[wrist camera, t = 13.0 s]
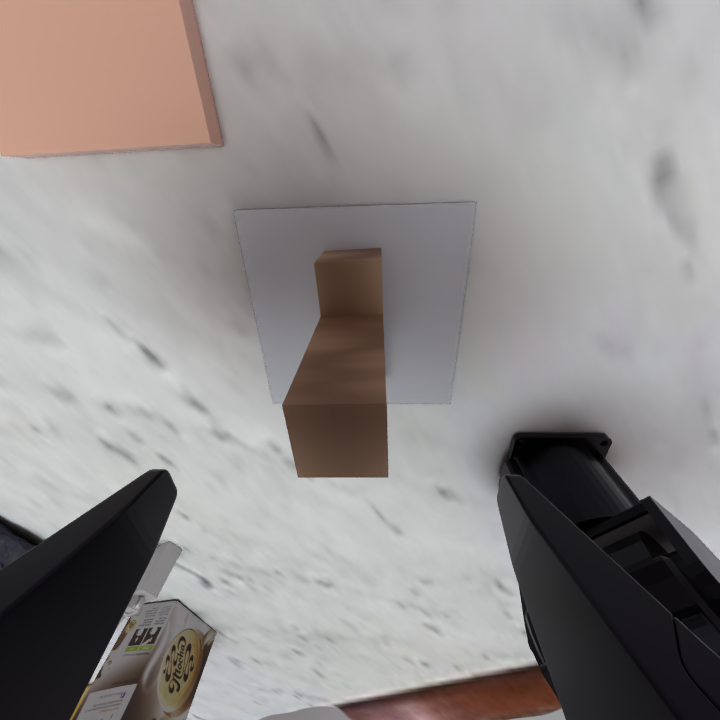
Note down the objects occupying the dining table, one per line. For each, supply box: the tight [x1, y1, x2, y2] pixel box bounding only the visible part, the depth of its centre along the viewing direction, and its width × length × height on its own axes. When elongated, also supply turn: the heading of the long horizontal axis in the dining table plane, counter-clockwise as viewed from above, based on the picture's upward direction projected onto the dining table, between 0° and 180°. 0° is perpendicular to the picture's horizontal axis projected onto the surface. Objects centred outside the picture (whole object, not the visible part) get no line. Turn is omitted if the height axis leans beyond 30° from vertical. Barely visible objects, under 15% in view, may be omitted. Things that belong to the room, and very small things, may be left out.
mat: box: [233, 202, 477, 404], centre depth 19 cm, size 12×12×1 cm
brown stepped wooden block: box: [282, 248, 388, 477], centre depth 14 cm, size 3×8×10 cm, turn 3°
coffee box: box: [72, 601, 216, 720], centre depth 33 cm, size 9×6×16 cm
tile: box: [0, 0, 223, 158], centre depth 13 cm, size 10×2×9 cm
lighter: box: [117, 541, 182, 627], centre depth 29 cm, size 7×2×8 cm, turn 126°
